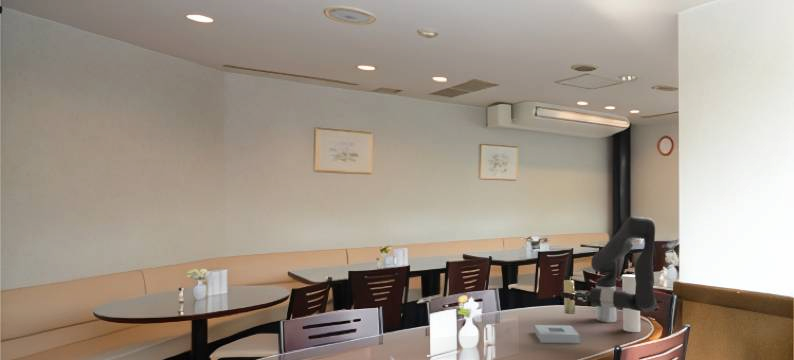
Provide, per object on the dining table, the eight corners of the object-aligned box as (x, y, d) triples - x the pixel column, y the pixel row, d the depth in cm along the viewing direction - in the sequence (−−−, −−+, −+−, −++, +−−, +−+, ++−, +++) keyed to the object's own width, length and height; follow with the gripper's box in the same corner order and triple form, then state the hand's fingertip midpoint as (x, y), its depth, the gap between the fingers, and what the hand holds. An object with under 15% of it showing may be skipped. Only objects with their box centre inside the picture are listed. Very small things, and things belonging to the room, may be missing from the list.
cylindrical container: (642, 332, 230) (640, 277, 230) (625, 331, 231) (624, 276, 232) (638, 328, 237) (636, 274, 237) (621, 327, 238) (620, 274, 239)
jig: (534, 332, 231) (534, 324, 231) (570, 333, 229) (570, 325, 229) (540, 342, 215) (540, 334, 215) (579, 343, 213) (579, 335, 213)
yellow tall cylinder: (563, 311, 224) (562, 280, 225) (573, 311, 224) (572, 280, 225) (565, 314, 220) (565, 281, 221) (576, 314, 220) (575, 281, 220)
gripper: (607, 286, 220) (567, 283, 230) (599, 291, 208) (557, 287, 218) (607, 303, 220) (567, 299, 230) (599, 309, 208) (557, 305, 218)
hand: (562, 294), depth 224 cm, fingers closed on yellow tall cylinder, 4 cm apart
